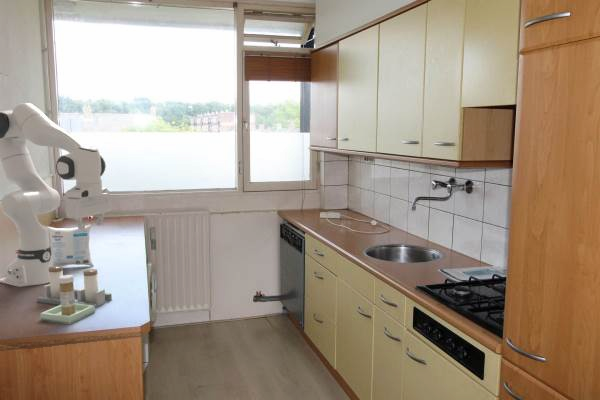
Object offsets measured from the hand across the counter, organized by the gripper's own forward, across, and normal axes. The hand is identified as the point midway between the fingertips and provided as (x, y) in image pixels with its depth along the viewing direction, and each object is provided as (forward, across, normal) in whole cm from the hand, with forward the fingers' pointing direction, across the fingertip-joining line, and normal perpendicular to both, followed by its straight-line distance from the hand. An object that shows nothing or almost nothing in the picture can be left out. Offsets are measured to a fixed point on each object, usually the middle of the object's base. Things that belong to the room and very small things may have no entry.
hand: (90, 227), depth 197 cm
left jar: (+28, +5, -12) cm, 31 cm away
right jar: (+27, +5, +4) cm, 28 cm away
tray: (+27, +19, +6) cm, 34 cm away
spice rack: (+28, +5, -4) cm, 28 cm away
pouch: (+29, -32, -41) cm, 59 cm away
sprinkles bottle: (+27, +19, +6) cm, 33 cm away
